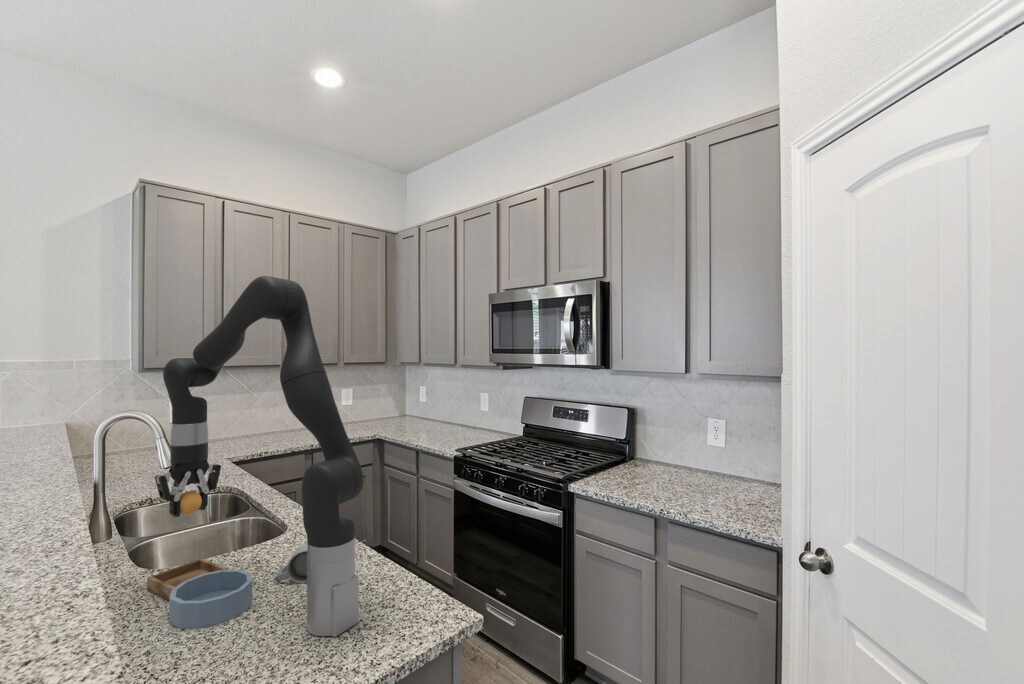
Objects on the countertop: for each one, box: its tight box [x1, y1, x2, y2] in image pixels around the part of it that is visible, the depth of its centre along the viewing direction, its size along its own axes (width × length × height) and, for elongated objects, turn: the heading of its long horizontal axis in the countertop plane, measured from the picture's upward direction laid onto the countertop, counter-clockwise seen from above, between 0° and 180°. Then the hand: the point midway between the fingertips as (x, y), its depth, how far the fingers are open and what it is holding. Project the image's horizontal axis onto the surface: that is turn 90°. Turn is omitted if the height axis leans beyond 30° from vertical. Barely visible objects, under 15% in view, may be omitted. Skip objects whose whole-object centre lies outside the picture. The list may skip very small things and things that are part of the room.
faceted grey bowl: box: [168, 569, 253, 629], centre depth 105 cm, size 15×15×5 cm
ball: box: [179, 490, 202, 515], centre depth 116 cm, size 5×5×5 cm
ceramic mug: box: [275, 542, 307, 584], centre depth 120 cm, size 11×8×8 cm
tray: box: [146, 558, 230, 602], centre depth 115 cm, size 12×12×3 cm
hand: (189, 512), depth 116 cm, fingers closed on ball, 5 cm apart
